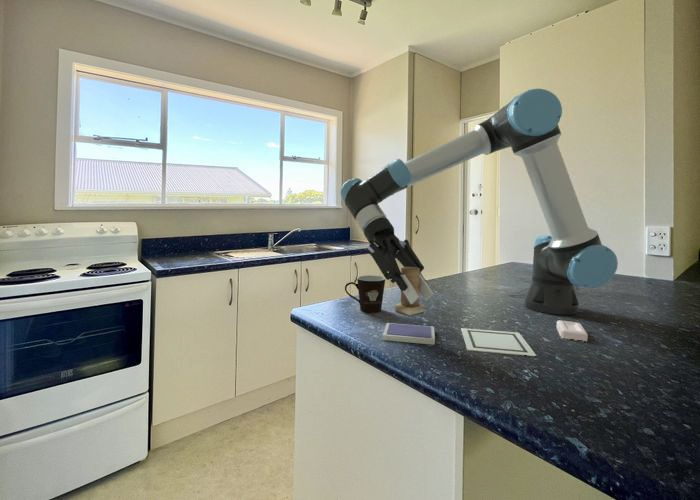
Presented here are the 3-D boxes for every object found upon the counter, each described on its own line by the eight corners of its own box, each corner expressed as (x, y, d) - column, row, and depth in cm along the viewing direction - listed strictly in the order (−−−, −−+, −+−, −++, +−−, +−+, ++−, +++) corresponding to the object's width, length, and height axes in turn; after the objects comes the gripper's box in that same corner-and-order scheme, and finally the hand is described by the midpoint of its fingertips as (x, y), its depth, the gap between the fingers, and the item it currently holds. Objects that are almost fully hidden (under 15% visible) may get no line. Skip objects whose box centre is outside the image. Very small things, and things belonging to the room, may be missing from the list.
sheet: (518, 333, 86) (519, 332, 86) (536, 356, 72) (536, 355, 72) (460, 328, 89) (461, 327, 89) (467, 350, 75) (467, 348, 75)
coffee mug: (387, 307, 107) (388, 276, 106) (380, 315, 99) (381, 281, 98) (352, 304, 111) (353, 273, 110) (343, 311, 103) (343, 278, 102)
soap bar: (579, 331, 89) (580, 322, 89) (587, 343, 81) (588, 333, 81) (556, 328, 91) (556, 319, 91) (561, 339, 83) (561, 330, 83)
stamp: (395, 312, 84) (395, 268, 82) (409, 308, 87) (409, 265, 85) (410, 317, 80) (411, 270, 78) (424, 313, 83) (425, 268, 82)
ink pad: (433, 331, 87) (433, 325, 87) (434, 344, 78) (434, 338, 78) (386, 327, 90) (386, 322, 89) (382, 339, 81) (382, 334, 81)
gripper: (391, 233, 98) (436, 301, 87) (343, 237, 88) (387, 314, 77) (405, 215, 94) (454, 284, 83) (356, 216, 83) (405, 296, 72)
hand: (422, 298), depth 80 cm, fingers closed on stamp, 4 cm apart
